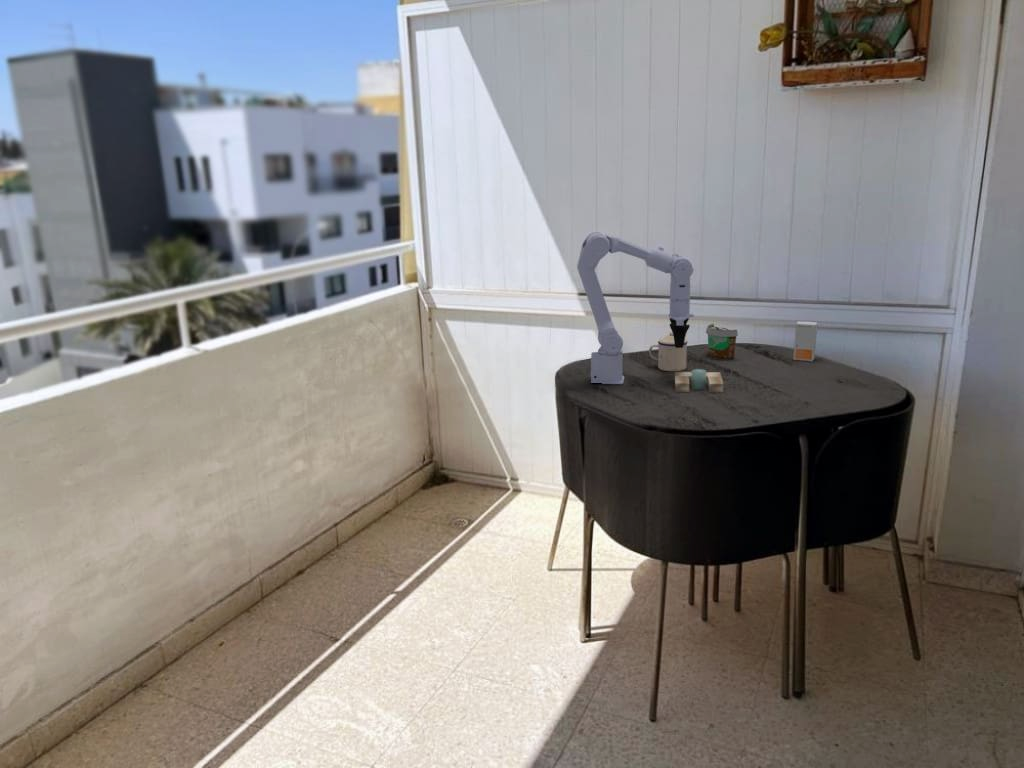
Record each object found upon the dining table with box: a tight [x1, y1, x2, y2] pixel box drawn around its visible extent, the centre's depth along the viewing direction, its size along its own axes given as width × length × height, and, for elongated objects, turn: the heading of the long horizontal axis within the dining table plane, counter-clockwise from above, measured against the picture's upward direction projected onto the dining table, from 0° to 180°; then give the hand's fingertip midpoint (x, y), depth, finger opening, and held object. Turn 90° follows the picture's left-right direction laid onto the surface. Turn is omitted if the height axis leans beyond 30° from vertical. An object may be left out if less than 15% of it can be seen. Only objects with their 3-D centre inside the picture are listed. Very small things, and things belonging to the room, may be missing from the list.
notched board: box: [674, 371, 724, 393], centre depth 209 cm, size 13×12×2 cm
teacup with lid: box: [648, 331, 689, 372], centre depth 228 cm, size 12×9×12 cm
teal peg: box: [690, 368, 707, 391], centre depth 207 cm, size 4×4×5 cm
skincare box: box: [793, 320, 819, 362], centre depth 231 cm, size 6×4×12 cm
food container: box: [705, 323, 739, 360], centre depth 238 cm, size 12×6×10 cm, turn 25°
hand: (678, 344), depth 215 cm, fingers open, 7 cm apart
